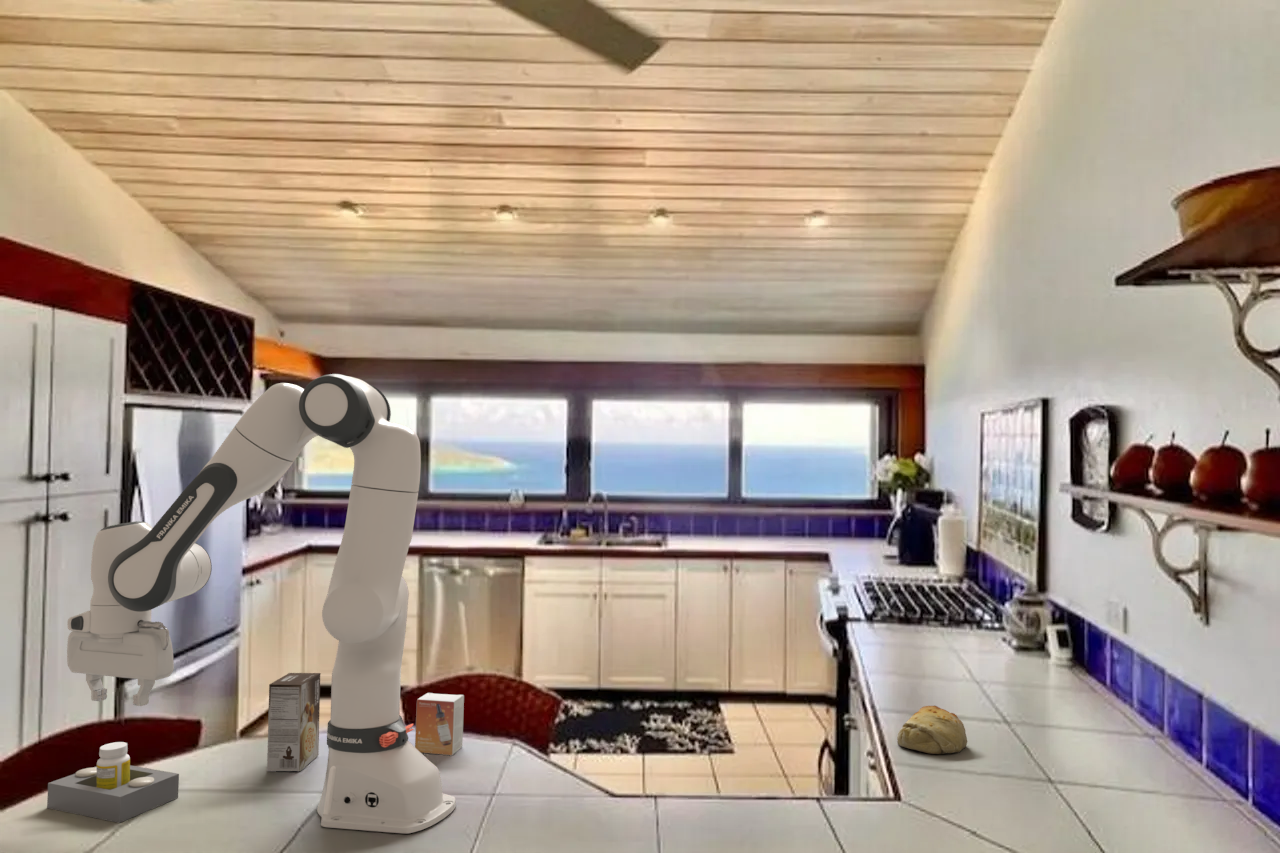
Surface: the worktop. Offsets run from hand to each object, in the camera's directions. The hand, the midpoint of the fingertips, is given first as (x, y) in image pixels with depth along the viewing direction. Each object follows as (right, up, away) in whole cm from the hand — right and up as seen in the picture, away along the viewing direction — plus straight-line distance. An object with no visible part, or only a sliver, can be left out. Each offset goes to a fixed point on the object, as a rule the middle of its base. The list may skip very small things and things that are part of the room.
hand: (119, 702), depth 145 cm
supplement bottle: (-1, -16, -1) cm, 16 cm away
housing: (-1, -16, -1) cm, 16 cm away
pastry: (+147, -20, +34) cm, 153 cm away
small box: (+47, -19, +28) cm, 58 cm away
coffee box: (+21, -18, +19) cm, 34 cm away
